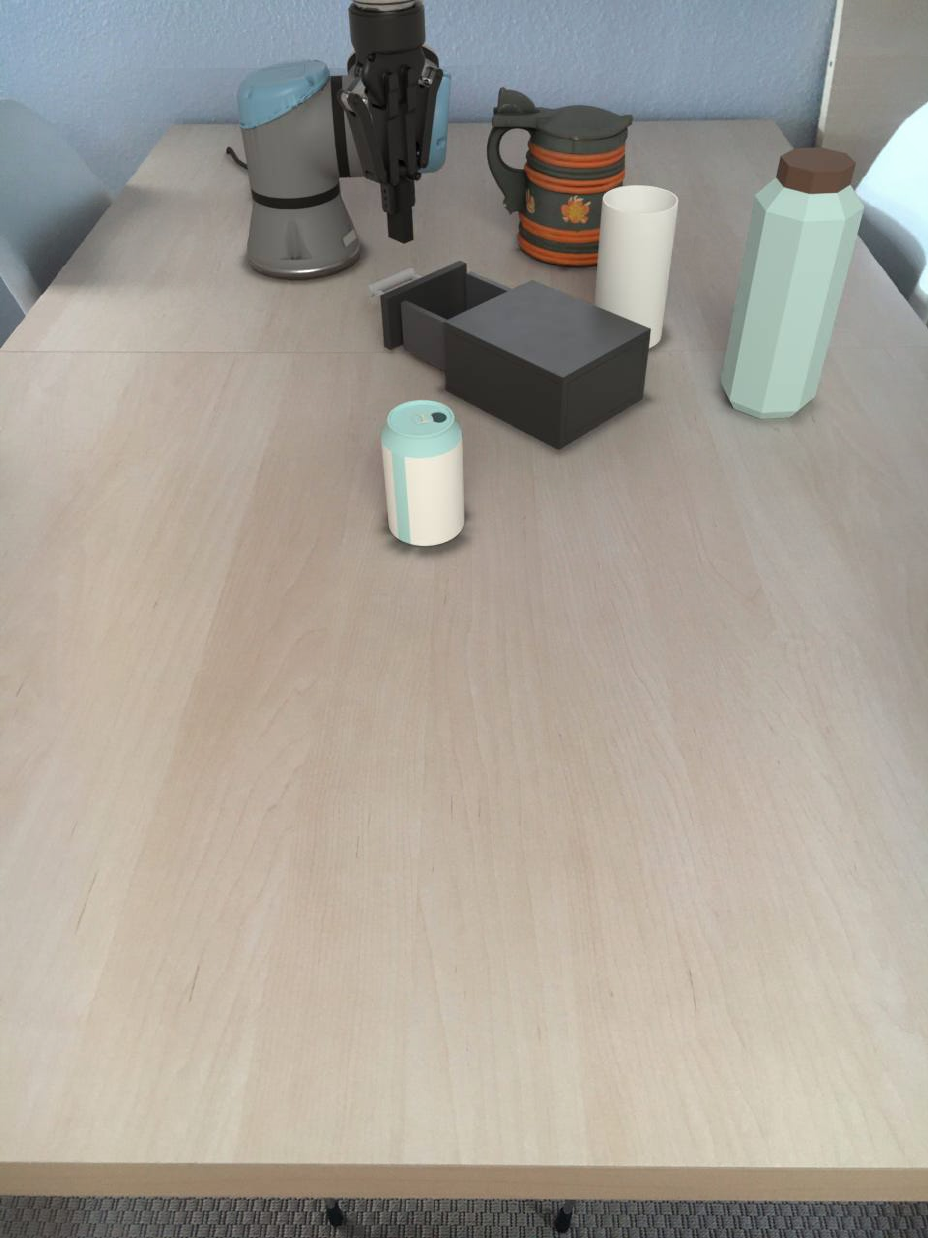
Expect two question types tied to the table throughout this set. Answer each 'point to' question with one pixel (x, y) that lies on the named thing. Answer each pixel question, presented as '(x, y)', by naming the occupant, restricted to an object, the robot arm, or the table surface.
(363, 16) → the robot arm
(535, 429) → the cabinet
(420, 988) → the table surface
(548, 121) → the beer stein
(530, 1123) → the table surface
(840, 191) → the water bottle
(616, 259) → the cup
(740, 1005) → the table surface
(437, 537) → the can
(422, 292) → the drawer
